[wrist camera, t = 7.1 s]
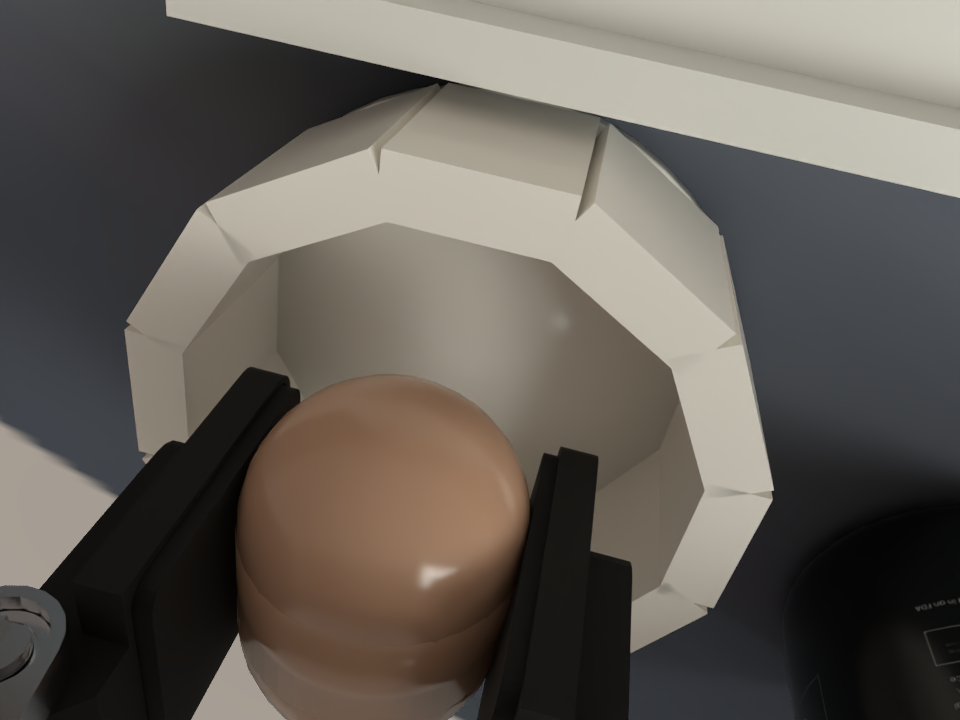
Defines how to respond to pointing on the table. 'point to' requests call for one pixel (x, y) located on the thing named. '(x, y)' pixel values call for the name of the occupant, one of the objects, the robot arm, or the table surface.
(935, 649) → the supplement bottle
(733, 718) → the table surface
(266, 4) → the parts tray
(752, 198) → the table surface
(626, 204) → the bowl
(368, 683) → the pebble
